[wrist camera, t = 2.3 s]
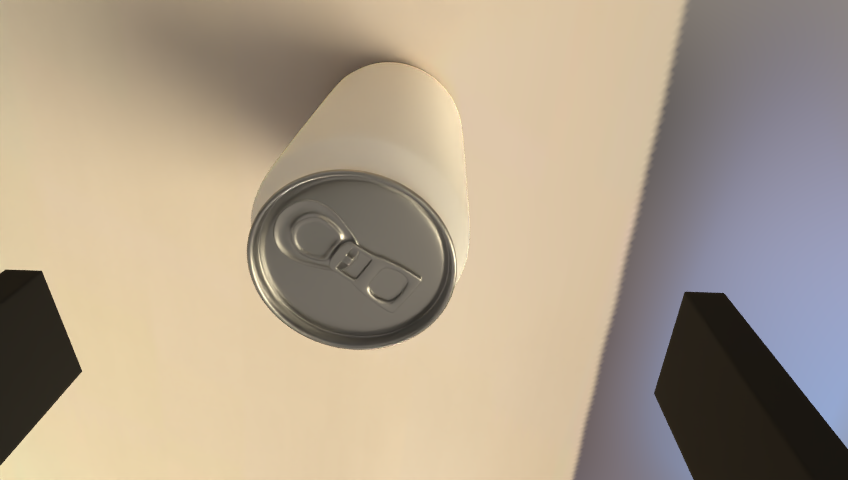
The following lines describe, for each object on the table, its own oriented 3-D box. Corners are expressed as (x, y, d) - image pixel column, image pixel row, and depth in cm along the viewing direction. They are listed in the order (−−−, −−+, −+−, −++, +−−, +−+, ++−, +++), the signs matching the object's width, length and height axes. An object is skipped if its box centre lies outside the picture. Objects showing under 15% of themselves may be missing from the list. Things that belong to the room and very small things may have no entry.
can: (373, 27, 22) (308, 98, 12) (491, 118, 24) (525, 250, 14) (297, 144, 25) (189, 287, 15) (408, 219, 27) (383, 394, 16)
